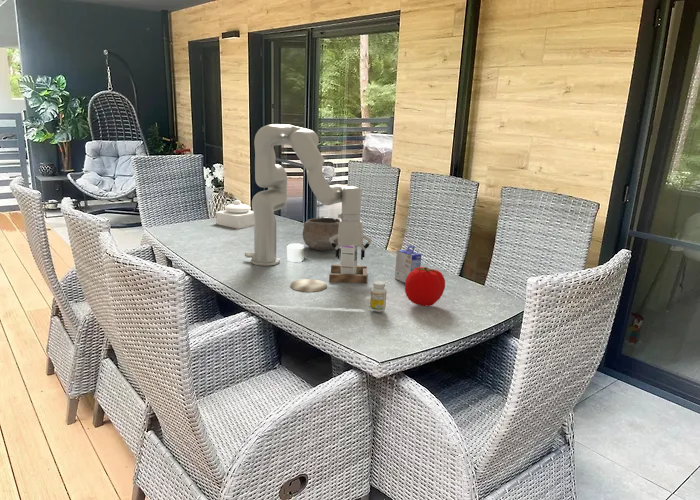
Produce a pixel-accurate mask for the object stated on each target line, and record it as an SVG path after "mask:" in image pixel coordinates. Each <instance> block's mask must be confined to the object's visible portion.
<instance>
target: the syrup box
mask: <svg viewBox="0 0 700 500" xmlns="http://www.w3.org/2000/svg"><path fill="white" fill-rule="evenodd" d="M340 265H341V273H340V274H358V273H357V266H358V246H355V245H352V246H340Z"/></svg>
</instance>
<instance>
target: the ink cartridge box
mask: <svg viewBox="0 0 700 500" xmlns="http://www.w3.org/2000/svg"><path fill="white" fill-rule="evenodd" d="M410 248H411V249H410ZM415 248H416V247H415V246H413V245H410V244H409V245H408V246H407V249H398V250H396V258H395V269H394V279H395V280H397V281H400V282H403V283H404V284H405V282H406V279H407V276H408V275H409V273H410V272H411V271H413V270H414V269H415V267H416V268H417V267H422V266H421V263H422V254H421V253H418V252H416V251H415Z"/></svg>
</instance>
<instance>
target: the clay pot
mask: <svg viewBox="0 0 700 500" xmlns="http://www.w3.org/2000/svg"><path fill="white" fill-rule="evenodd" d="M340 220H341V219H340V218H339V219H338V218H334V217H316V218H310V219H307V221H305V222H304V223H303V228H302V229H303V230H302V239H303V241H304V243H305V245H306V246H308V247H309V248H310V249H312V250H315V251H330V250H334V249H335V248H334V247H333V246H332V245H331V243H330V241H329V238H331V237H333V236H335V235H337V234H338V228H339V222H340ZM333 241H334V243H335V244H336V245H337V244H338V238H336V239H334V240H333Z"/></svg>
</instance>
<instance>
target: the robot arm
mask: <svg viewBox="0 0 700 500" xmlns="http://www.w3.org/2000/svg"><path fill="white" fill-rule="evenodd" d="M319 140H320V139H319V136H318V134H317V133H316V132H315V131H314V130H312V129H308V128H304V127H300V126H296V125H292V124H285V123H283V124H282V123H281V124H280V123H274V124H273V123H272V124H270V123H269V124H267V125H264V126H261V127H260V128H259V129H258V130H257V132H256V133H255V136H254V144H253V145H254V154H255V156H254V173H255V174H254V179H255V180H254V181H255V184H256V185H257V186H258V187H259V188H262V189H263V188H265V189H266V190H261V191H258V192H257V193H256V194H255V195H253V198H252V200H251V209H252V211H253V214H254V225H253V228H254V230H253V231H254V232H253V233H254V235H253V237H254V238H253V241H254V251H251V252H247V251H245V252H244V257H246V258H251V259H250V263H251V264H252V265H255V266H260V267H261V266H265V267H267V266H275V265H278V264H279V263H281V259H280V258H279V257H277V219H276V215H275V212H276V211H279V210H282V209H283V208H284V207H285V206H286V205H287V199H288V174H287V171H286V169H285V168H284V167H283V166H282V165H280V164H277V163H276V152H275V151H276V150H275V149H274V146H285V145H286V146H291V148H292V149H293V151H294V153H295V155H296V156H297V158H298V159H299V160H300V162H301V164H302V166H303V167H304V169H305V171H306V179H307V182H308V184H309V187H310V189H311V191H312V193H313V194H314V196H315V197H316V199H317V200H318V201H319V202H320V203H321V204H322V205H324V206H332V205H335V204H339V203H341V213H340V214H339V213H338V214H337V219H338V218H339V220H340V222H339V228H338V234H337V235H335V236H333V237H331V238H329V241H330V243H331V245H332V246H333V247H334V249H335V257H336V258H337V260H339V259H340V248H341V246H352V245H355V246H357V247H360V260H361V261H363V259H364V258H365V254H366V252H365V251H366V250H367V248H369V247H370V245H371V244H372V242H373V241H372V240H373V239H372V238H370V237H369V236H367V235H365V234H364V228H363V226H364V225H363V221H362V220H361V205H362V204H361V199H362V191H361V190H362V189H361V188H360V187H358V186H353V185H348V186H347V185H343V184H338V183H336V184H331V185H330V184H329V183H328V181H327V179H326V177H325V175H324V172H323V166H324V163H325V158H324V156H323V154H322V153H321V152H320V150H319V149H318V146H319V142H320V141H319ZM336 238H338V244H337V245H336V244H335V243H334V241H333V240H334V239H336ZM364 240H365V241H366V243H365V244H364Z"/></svg>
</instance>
